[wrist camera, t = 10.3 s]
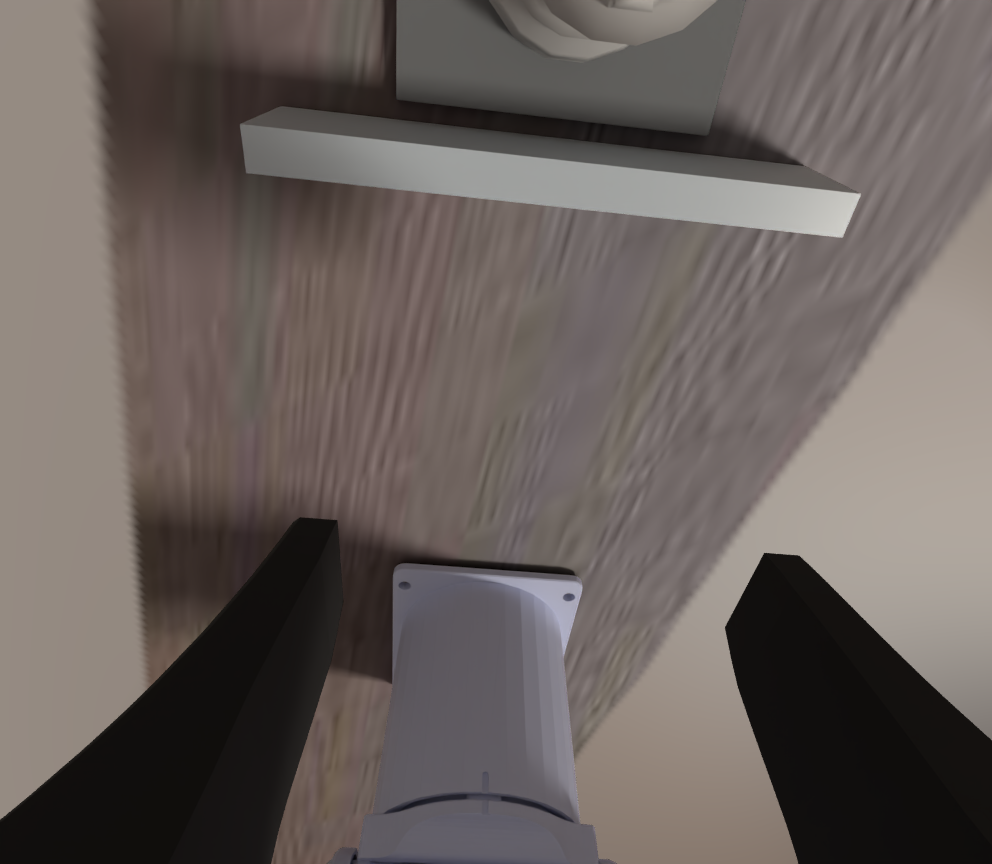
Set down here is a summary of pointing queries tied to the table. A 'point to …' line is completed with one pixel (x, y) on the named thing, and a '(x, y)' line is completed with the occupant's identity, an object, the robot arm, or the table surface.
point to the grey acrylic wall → (544, 171)
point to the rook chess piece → (594, 24)
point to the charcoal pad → (563, 69)
